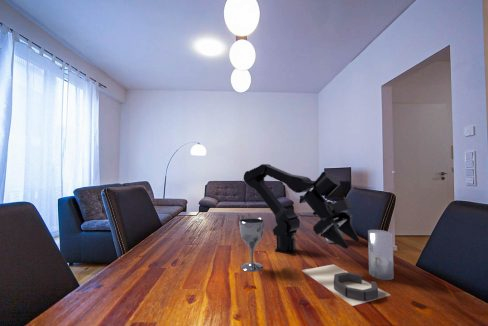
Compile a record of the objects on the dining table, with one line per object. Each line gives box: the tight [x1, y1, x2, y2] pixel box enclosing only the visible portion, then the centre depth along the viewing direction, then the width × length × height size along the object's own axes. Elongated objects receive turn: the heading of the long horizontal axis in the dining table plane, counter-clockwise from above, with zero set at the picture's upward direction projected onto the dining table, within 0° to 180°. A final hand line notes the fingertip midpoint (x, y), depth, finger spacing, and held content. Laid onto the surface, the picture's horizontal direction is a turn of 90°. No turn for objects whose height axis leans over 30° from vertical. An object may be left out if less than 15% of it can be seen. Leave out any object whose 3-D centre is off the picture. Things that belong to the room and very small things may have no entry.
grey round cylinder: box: [367, 229, 395, 281], centre depth 63 cm, size 6×6×13 cm
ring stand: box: [301, 263, 391, 307], centre depth 60 cm, size 19×12×3 cm, turn 20°
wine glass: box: [239, 217, 265, 273], centre depth 72 cm, size 8×8×15 cm
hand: (353, 244), depth 69 cm, fingers open, 9 cm apart
